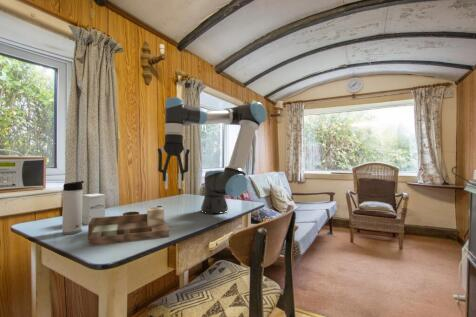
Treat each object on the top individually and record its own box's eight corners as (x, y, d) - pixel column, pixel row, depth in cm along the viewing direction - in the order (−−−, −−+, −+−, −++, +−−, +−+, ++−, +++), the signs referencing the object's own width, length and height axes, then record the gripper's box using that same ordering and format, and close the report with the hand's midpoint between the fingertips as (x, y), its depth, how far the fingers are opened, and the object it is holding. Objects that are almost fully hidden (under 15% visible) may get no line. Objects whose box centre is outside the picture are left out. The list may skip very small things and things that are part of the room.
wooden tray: (163, 224, 105) (163, 212, 105) (169, 236, 89) (169, 222, 89) (92, 231, 94) (92, 217, 94) (84, 246, 78) (84, 229, 78)
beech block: (161, 220, 102) (162, 207, 102) (163, 224, 97) (163, 209, 97) (147, 222, 100) (147, 207, 100) (148, 225, 94) (148, 210, 94)
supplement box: (88, 225, 102) (88, 196, 102) (79, 222, 106) (80, 194, 106) (105, 221, 109) (105, 194, 109) (96, 219, 113) (97, 192, 113)
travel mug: (82, 233, 92) (83, 181, 92) (61, 235, 88) (62, 182, 88) (83, 229, 97) (84, 180, 97) (63, 231, 94) (64, 180, 94)
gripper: (192, 136, 108) (191, 186, 108) (151, 133, 101) (150, 188, 101) (196, 134, 102) (195, 188, 102) (152, 132, 94) (151, 190, 94)
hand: (173, 188), depth 101 cm, fingers open, 5 cm apart
